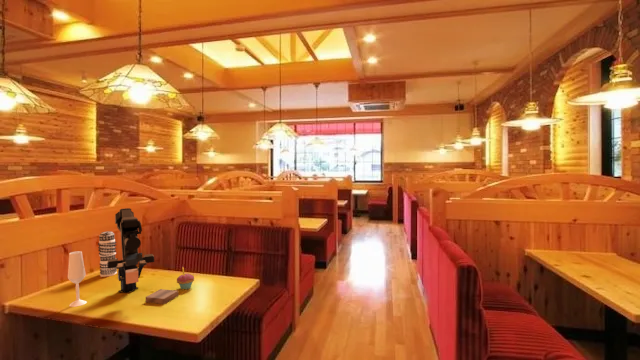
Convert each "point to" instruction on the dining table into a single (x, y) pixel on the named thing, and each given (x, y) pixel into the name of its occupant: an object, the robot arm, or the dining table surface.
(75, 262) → the champagne flute
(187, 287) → the cupcake
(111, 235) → the decorative candle
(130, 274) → the cube
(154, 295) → the base
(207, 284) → the dining table surface
